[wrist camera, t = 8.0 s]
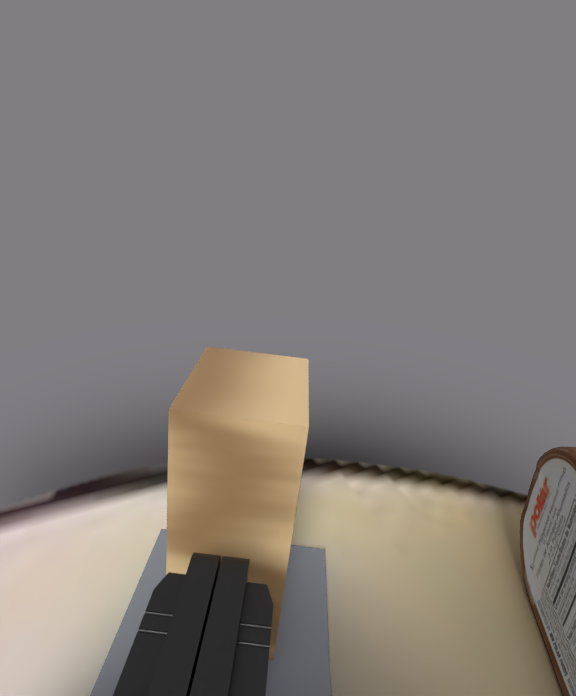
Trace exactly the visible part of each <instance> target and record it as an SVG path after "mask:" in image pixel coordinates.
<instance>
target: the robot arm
mask: <svg viewBox="0 0 576 696" xmlns="http://www.w3.org/2000/svg"><path fill="white" fill-rule="evenodd" d="M249 566H250V559H245V558H237V557H229V556H223V557H222V560H221V556H220V555H212V554H204V553H196V552H194V553H193V554H192V557H191V560H190V563H189V566H188V569H187V572H186V574H178V573H170V572H169V573H168V574H167V575H166V576H165V577H164V578H163V579H162V580H161V582H160V583H159V584H158V585H157V586H156V587H155V588H154V590H153V592H152V595H151V598H150V600H149V603H148V605H147V608H146V611H145V615H144V616H143V618H142V621H141V624H140V626H139V630H138V632H137V634H136V636H135V639H134V642H133V644H132V647H131V649H130V652H129V655H128V657H127V660H126V662H125V665H124V668H123V670H122V673H121V675H120V678H119V681H118V683H117V686H116V688H115V691H114V694H113V696H265V695H266V684H267V672H268V661H269V650H270V649H269V648H270V638H271V626H272V615H273V601H272V598H271V595H270V592H269V589H268V586H267V584H259V583H251V582H248V575H249Z"/></svg>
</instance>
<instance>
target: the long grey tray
mask: <svg viewBox="0 0 576 696" xmlns="http://www.w3.org/2000/svg"><path fill="white" fill-rule="evenodd" d="M166 556H167V530H166V529H161V531H160V534H159V536H158V538H157V541H156V543H155V545H154V548H153V550H152V552H151V555H150V557H149V559H148V562H147V564H146V566H145V569H144V571H143V573H142V576H141V578H140V581H139V583H138V585H137V588H136V590H135V592H134V595H133V597H132V599H131V602H130V604H129V606H128V609H127V611H126V613H125V616H124V618H123V620H122V623H121V625H120V627H119V630H118V632H117V634H116V637H115V639H114V641H113V644H112V646H111V649H110V651H109V653H108V656H107V658H106V660H105V663H104V665H103V667H102V670H101V672H100V674H99V677H98V679H97V681H96V684H95V686H94V688H93V691H92V693H91V695H90V696H113V694H114V691H115V688H116V686H117V683H118V681H119V678H120V675H121V673H122V670H123V668H124V665H125V662H126V660H127V657H128V655H129V652H130V649H131V647H132V644H133V642H134V639H135V636H136V634H137V632H138V630H139V626H140V624H141V621H142V618H143V616H144V615H145V611H146V608H147V605H148V603H149V600H150V598H151V595H152V592H153V590H154V588H155V587H156V586H157V585H158V584H159V583H160V582H161V580H162V579H163V578H164V577H165V576H166ZM265 696H331V682H330V659H329V636H328V612H327V589H326V566H325V549H319V548H311V547H303V546H295V545H291V547H290V554H289V560H288V567H287V573H286V580H285V586H284V593H283V600H282V606H281V613H280V619H279V626H278V632H277V639H276V645H275V652H274V658H273V660H269V661H268V672H267V684H266V695H265Z"/></svg>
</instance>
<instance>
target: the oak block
mask: <svg viewBox="0 0 576 696" xmlns="http://www.w3.org/2000/svg"><path fill="white" fill-rule="evenodd" d="M308 388H309V383H308V359H303V358H296V357H288V356H279V355H271V354H263V353H254V352H246V351H238V350H230V349H222V348H213V347H206V349H205V351H204V352H203V354H202V356H201V357H200V359H199V361H198V362H197V364H196V366H195V367H194V369H193V371H192V372H191V374H190V375H189V377H188V379H187V380H186V382H185V384H184V385H183V387H182V389H181V390H180V392H179V394H178V395H177V397H176V399H175V400H174V402H173V403H172V405H171V407H170V409H169V433H168V435H169V436H168V493H167V556H166V575H167V574H168V573H169V572H170V573H178V574H186V572H187V569H188V566H189V563H190V560H191V557H192V554H193V553H194V552H196V553H204V554H212V555H220V556H221V560H222V557H223V556H229V557H237V558H245V559H250V566H249V575H248V582H251V583H259V584H267V586H268V589H269V592H270V595H271V598H272V601H273V615H272V626H271V638H270V648H269V649H270V650H269V660H273V658H274V652H275V645H276V639H277V632H278V626H279V619H280V613H281V606H282V600H283V593H284V586H285V580H286V573H287V567H288V560H289V554H290V547H291V541H292V534H293V528H294V521H295V514H296V508H297V501H298V495H299V488H300V482H301V475H302V469H303V462H304V455H305V449H306V442H307V436H308V428H309V389H308Z"/></svg>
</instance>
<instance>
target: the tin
mask: <svg viewBox="0 0 576 696" xmlns="http://www.w3.org/2000/svg"><path fill="white" fill-rule="evenodd" d="M520 549H521V561H522V568H523V575H524V580H525V585H526V589H527V593H528V596H529V600H530V603H531V606H532V608H533V611H534V614H535V617H536V620H537V622H538V625H539V628H540V631H541V633H542V636H543V639H544V642H545V644H546V647H547V650H548V653H549V656H550V658H551V661H552V664H553V667H554V670H555V673H556V675H557V678H558V681H559V684H560V686H561V689H562V692H563V694H564V696H576V447H557V448H553V449H551V450H549V451H547V452H546V453H544V454H543V455H542V456H541V457H540V459H539V460H538V462H537V467H536V471H535V473H534V475H533V479H532V482H531V485H530V489H529V492H528V496H527V500H526V504H525V506H524V509H523V512H522V516H521V520H520Z"/></svg>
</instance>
